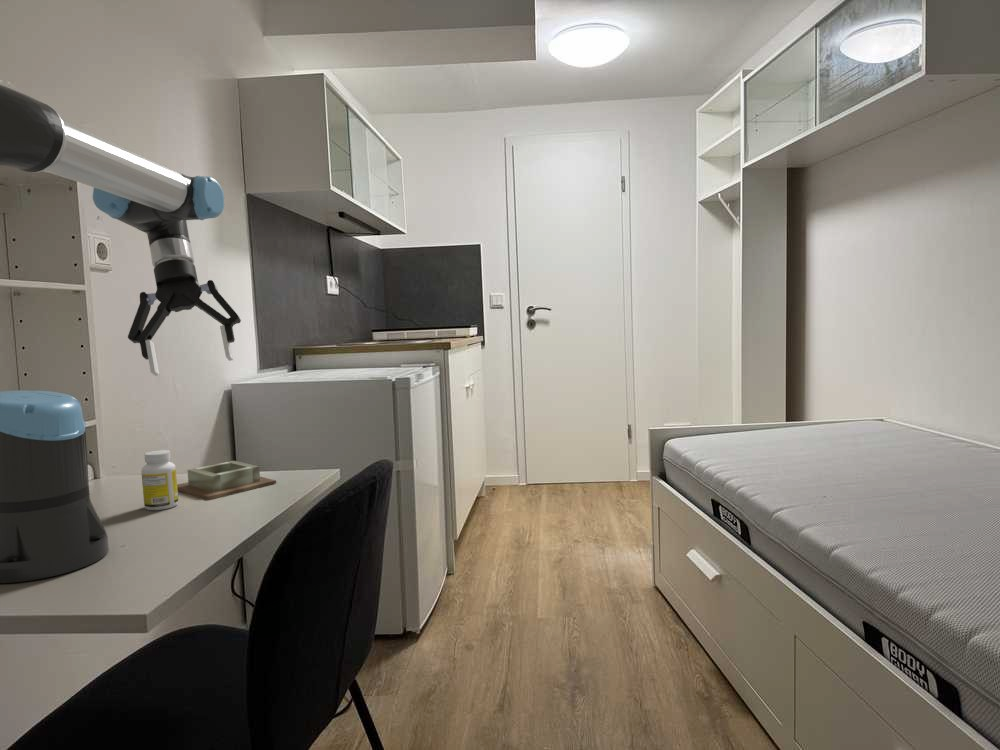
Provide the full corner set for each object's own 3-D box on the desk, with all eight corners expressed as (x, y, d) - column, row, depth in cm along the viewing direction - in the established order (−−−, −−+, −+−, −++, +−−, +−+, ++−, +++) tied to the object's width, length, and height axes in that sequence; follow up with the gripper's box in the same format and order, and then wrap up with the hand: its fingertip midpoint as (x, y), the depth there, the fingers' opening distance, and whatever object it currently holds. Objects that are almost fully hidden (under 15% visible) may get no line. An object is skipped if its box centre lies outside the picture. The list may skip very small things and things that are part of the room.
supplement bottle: (165, 501, 120) (161, 448, 119) (185, 504, 117) (181, 450, 116) (137, 509, 115) (133, 454, 114) (157, 512, 112) (153, 456, 111)
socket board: (208, 499, 120) (207, 480, 119) (172, 488, 128) (170, 470, 128) (276, 483, 131) (275, 465, 130) (238, 474, 139) (237, 457, 139)
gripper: (242, 262, 137) (262, 357, 133) (113, 284, 132) (130, 385, 127) (235, 247, 130) (255, 346, 126) (98, 270, 124) (115, 375, 120)
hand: (192, 366), depth 127 cm, fingers open, 13 cm apart
